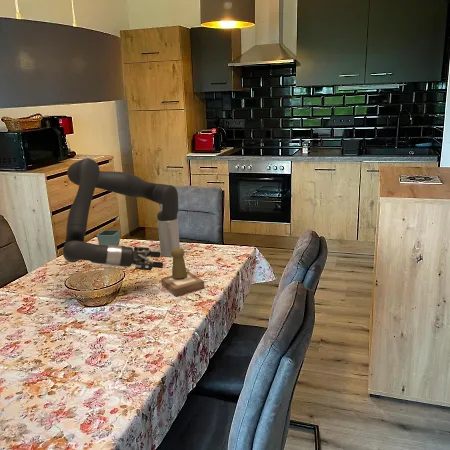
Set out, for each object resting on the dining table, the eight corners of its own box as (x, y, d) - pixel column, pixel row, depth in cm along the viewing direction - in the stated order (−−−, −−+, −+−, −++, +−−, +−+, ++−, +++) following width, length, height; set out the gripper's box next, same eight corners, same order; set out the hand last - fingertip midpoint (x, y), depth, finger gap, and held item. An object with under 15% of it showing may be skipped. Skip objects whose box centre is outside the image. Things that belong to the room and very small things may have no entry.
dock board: (161, 285, 173) (161, 278, 172) (188, 278, 179) (188, 270, 178) (176, 296, 162) (175, 289, 161) (204, 288, 168) (204, 280, 167)
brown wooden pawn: (190, 275, 172) (188, 247, 171) (178, 278, 168) (175, 250, 166) (181, 273, 176) (178, 246, 175) (168, 276, 172) (166, 249, 171)
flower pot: (98, 252, 215) (96, 235, 213) (106, 246, 223) (103, 230, 221) (115, 252, 214) (113, 235, 211) (122, 247, 222) (120, 230, 220)
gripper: (121, 255, 158) (165, 260, 163) (119, 238, 170) (161, 243, 175) (118, 274, 160) (162, 277, 165) (117, 255, 173) (157, 259, 178)
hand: (161, 259), depth 170 cm, fingers open, 8 cm apart
